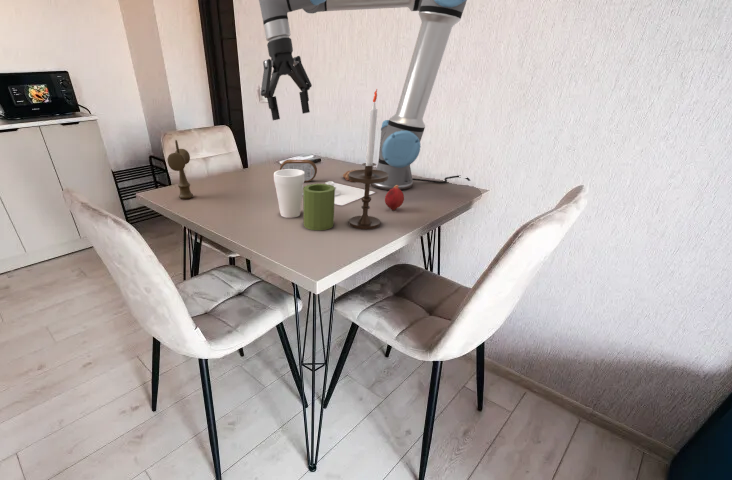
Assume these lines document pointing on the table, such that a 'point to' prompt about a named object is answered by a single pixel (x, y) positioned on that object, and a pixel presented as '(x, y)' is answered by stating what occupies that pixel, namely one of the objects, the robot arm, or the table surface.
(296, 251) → the table surface
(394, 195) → the onion
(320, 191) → the thick-walled green cup
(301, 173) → the foam cup
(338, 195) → the teacup and saucer
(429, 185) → the table surface
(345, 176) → the cookie
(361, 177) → the candlestick
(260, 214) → the table surface
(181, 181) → the kendama
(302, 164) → the tin
